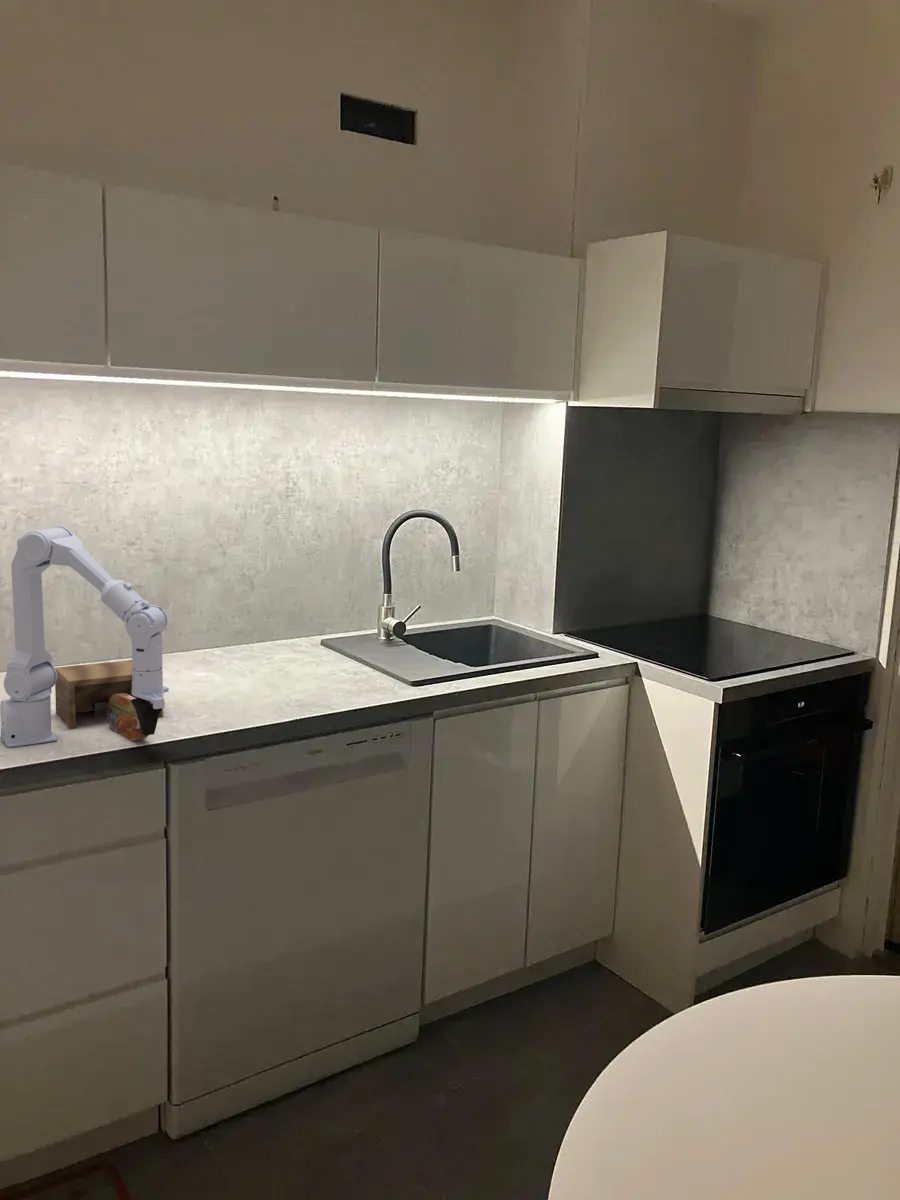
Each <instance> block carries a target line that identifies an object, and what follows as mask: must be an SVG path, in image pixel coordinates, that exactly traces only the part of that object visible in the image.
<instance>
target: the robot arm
mask: <svg viewBox="0 0 900 1200" xmlns="http://www.w3.org/2000/svg"><path fill="white" fill-rule="evenodd" d="M16 543H17V544H16V545H17V546H16V548H17V549H16V552H15V555H14V556H13V559H12V561H11V566H10V567H11V569H10V570H11V571H10V572H11V585H12V586H11V587H12V589H11V591H12V605H13V608H12V609H13V627H14V628H13V629H14V630H13V631H14V645H15V651H14V653H13V654H12V656H11V658H10V659H9V661H8V662H7V664H6V673H5V676H4V679H3V688H4V690H5V692H6V694H7V695H8V696H9V697H10V698H7V699H2V700H0V737H1V740H2V741H3V742H4V744H5V745H6V747H7V748H12V747H22V746H28V745H34V744H44V743H50V742H56V741H58V738H57V736H56V735H55V734H54V733H53V732H52V710H51V709H52V708H51V707H52V705H51V704H52V702H51V700H52V699H51V694H52V688H53V687H54V686H55V683H56V681H57V672H56V669H55V668H56V667H55V665H54V663H53V655H52V654H51V653H50V652H49V651H48V650H46V649H45V646H46V645H45V644H46V643H45V642H46V641H45V625H44V624H45V623H44V622H45V621H44V603H43V581H42V578H43V577H42V574H43V573H44V571H46V570H47V569H48V568H49V567H51V566H52V565H55V566H64V567H65V566H66V567H67V566H68V567H70V568H71V569H72V570H74V571H75V572H76V573H78V574H79V575H80V576H81V577H82V578H84V579H85V580H86V581H87V582H88V583H90V584H91V585H92V586H93V587H94V588H96V589H97V590H98V591H99V592H100V600H101V602H102V603H103V604H104V605H105V606H107V608H108V609H110V610H111V612H112V613H114V614H115V615H116V616H117V617H118V618H119V619H120V620H121V621H122V622H123V623H124V626H125V631H126V633H127V634H128V635H129V637H130V641H131V642H130V643H131V660H132V695H133V696H135V697H138V698H136V699H132V700H131V703H132V704H133V706H134V708H135V710H136V713H137V716H138V720H139V724H140V728H141V732H142V734H143V735H144V736H146V735H149V736H153V735H155V733H156V728H157V724H158V721H159V718H158V717H159V714H160V712H161V710H162V708H163V709H165V705H166V704H165V703H166V702H165V697H164V693H168V692H169V691H170V690H169V687H168V686H166V685H165V686H164V685H163V683H164V682H163V680H164V679H163V678H164V677H163V676H164V675H162V671H163V632H164V631H165V630H166V629H167V625H168V617H167V613H165V611H164V610H163V608H162V607H161V606H159V605H155V604H150V602H149V601H148V600H147V599H144V598H143V597H142V596H140V594H139V593H138V592H136V591H135V590H134V588H133V584H131V582H129V581H124V580H123V579H113V577H112V576H111V575H110V574H109V573H108V572H107V571H106V570H105V568H103V567H102V566H101V564H100V563H99V562H98V561H97V560H96V559H95V558H94V557H93V556H92V555H91V554H90V553H89V552H88V551H87V550H86V549H85V547H84V546H83V544H82V541H81V539H80V538H79V537H78V536H76V535H74V534H73V532H72V531H71V530H70V529H69V528H67V527H65V526H61V525H58V526H54V527H52V528H51V527H50V528H45V529H39V530H31V531H27V533H25V534H24V535H22V536H21V537H20V538H19V539H17V541H16Z"/></svg>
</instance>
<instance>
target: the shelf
mask: <svg viewBox="0 0 900 1200" xmlns="http://www.w3.org/2000/svg"><path fill="white" fill-rule="evenodd" d="M55 669H56V672H57V681H56V683H55V685H54V686H55V688H54V690H55V692H54V693H55V714H56V715H57V716H58V718H59V717H60V718H59V719H60V720H61V721H62V722H63V723H64V725H65V726H66V725H67V726H66V727H67V728H68V729H69V730H73V729H74V728H76V713H85V712H92V715H93V716H94V717H100V716H107V705H108V701H109V698H110V697H111V696H112V695H113V694H123V693H125V694H128V695H130V696H133V695H132V659H130V660H120V661H110V662H100V663H99V662H98V663H89V664H80V665H79V664H78V665H77V664H76V665H70V666H69V665H68V666H58V667H55ZM163 672H164V671H163V670H162V675H163V674H164V673H163ZM163 676H164V675H163ZM133 697H135V696H133ZM135 698H138V697H135ZM163 715H164V708H162V710H161V712H160V714H159V717H158V719H159V718H164V716H163ZM74 730H75V729H74Z"/></svg>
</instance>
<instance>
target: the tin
mask: <svg viewBox="0 0 900 1200" xmlns="http://www.w3.org/2000/svg"><path fill="white" fill-rule="evenodd" d="M132 699H136V698H135V697H133V696H130V695H128V694H125V693H123V694H113V695H112V696H111V697H110V698H109V701H108V705H107V715H106V716H107V721H108V723H109V727H110V728H111V730H112V731H113V732H114V733H115V732H116V733H115V734H117V733H118V735H119V734H120V735H119V736H121V735H122V736H121V737H123V736H124V737H123V738H125V737H126V738H125V739H127V738H128V739H127V740H129V739H130V740H132V741H131V742H137V741H143V740H146V739H147V738H148V737H149V736H150V735H146V736H144V735H143V734H142V732H141V728H140V724H139V720H138V716H137V713H136V710H135V708H134V706H133V704H132V703H131V700H132ZM130 740H129V741H130Z"/></svg>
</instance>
